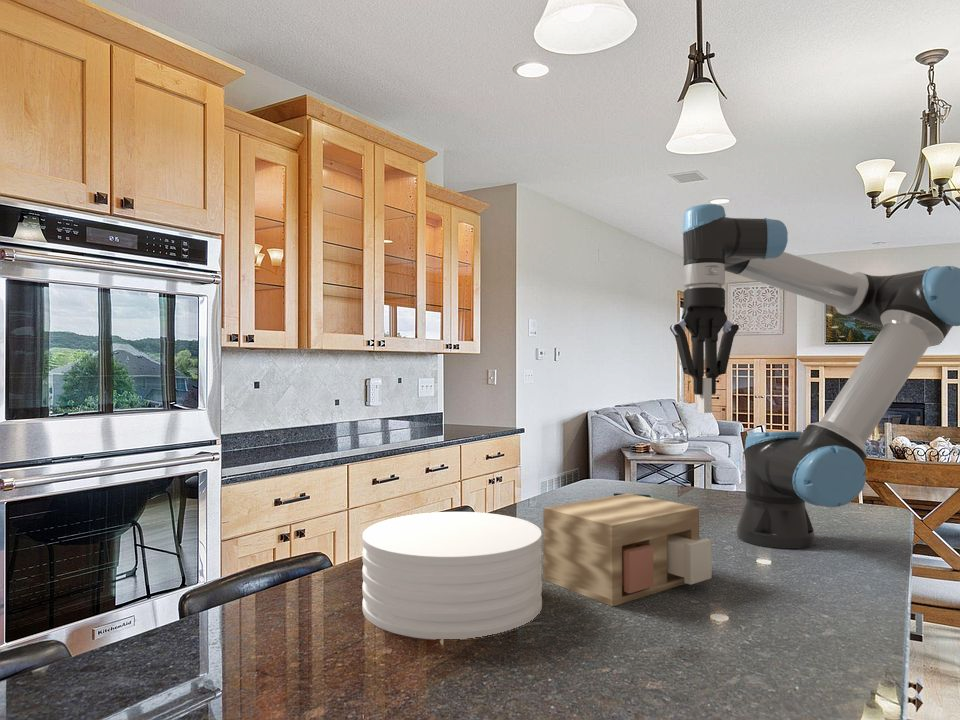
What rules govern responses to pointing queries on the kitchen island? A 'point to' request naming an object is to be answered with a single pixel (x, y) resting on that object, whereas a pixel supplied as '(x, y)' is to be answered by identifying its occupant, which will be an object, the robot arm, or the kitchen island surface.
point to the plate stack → (451, 574)
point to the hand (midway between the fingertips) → (704, 412)
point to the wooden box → (611, 543)
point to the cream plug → (689, 558)
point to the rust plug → (637, 568)
